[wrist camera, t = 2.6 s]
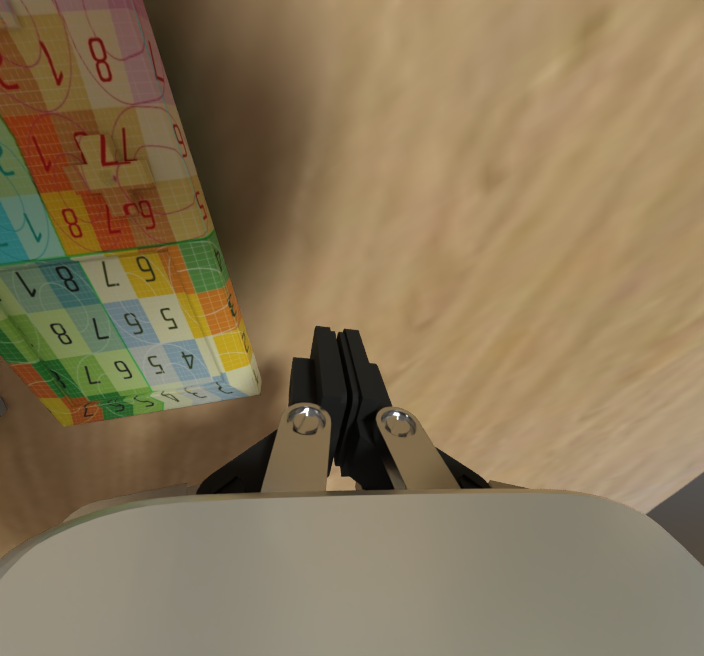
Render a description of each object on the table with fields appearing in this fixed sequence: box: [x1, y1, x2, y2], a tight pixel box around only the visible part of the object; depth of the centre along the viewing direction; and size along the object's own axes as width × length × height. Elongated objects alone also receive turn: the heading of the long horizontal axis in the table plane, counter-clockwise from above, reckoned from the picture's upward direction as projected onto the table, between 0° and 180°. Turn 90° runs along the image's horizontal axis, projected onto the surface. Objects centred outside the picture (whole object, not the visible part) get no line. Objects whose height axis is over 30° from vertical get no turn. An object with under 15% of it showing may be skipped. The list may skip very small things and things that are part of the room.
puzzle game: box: [0, 0, 262, 427], centre depth 15 cm, size 12×5×20 cm
